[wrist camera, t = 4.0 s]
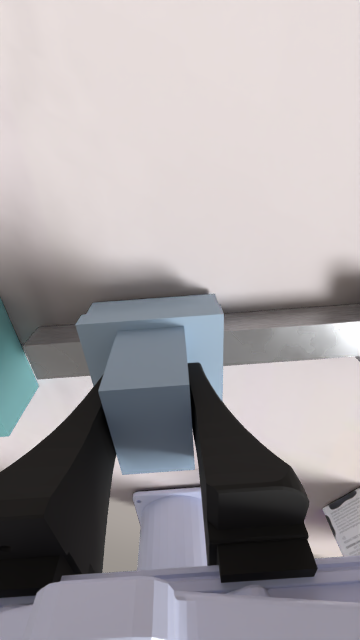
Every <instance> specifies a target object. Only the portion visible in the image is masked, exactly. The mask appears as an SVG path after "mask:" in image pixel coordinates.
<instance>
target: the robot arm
mask: <svg viewBox="0 0 360 640" xmlns="http://www.w3.org/2000/svg"><path fill="white" fill-rule="evenodd" d="M188 374H189V386H190V401H191V417H192V429H193V435H194V440H195V446H196V451H197V457H198V465H199V475H200V486H201V487H197V488H183V489H169V490H155V491H141V492H135V493H134V494H133V501H134V505H135V508H136V512H137V516H138V519H139V523H140V526H141V530H140V543H139V555H138V567H137V571H124V572H109V573H102V569H103V556H104V545H105V535H106V525H107V515H108V506H109V498H110V489H111V482H112V474H113V468H114V463H115V458H116V451H115V447H114V444H113V440H112V437H111V434H110V430H109V427H108V423H107V420H106V416H105V413H104V410H103V406H102V403H101V399H100V396H99V392H98V390H99V387H100V384H101V381H102V378H103V375H104V374H103V375H102V376H101V378H100V379H99V380H98V382H97V383H96V384H95V386H94V387H93V388H92V390H91V391H90V392H89V393H88V394H87V396H86V397H85V398H84V399H83V401H82V402H81V403H80V404H79V405H78V406H77V407H76V409H75V410H74V411H73V412H72V413H71V414H70V415H69V416H68V417H67V418H66V419H65V420H64V421H63V422H62V423H61V424H60V425H59V426H58V427H57V428H56V429H55V430H54V431H53V432H52V433H51V434H50V435H48V436H47V437H46V438H45V439H44V440H42V441H41V442H40V443H39V444H38V445H37V446H35V447H34V448H33V449H32V450H30V451H29V452H28V453H26V454H25V455H24V456H22V457H21V458H20V459H18V460H17V461H16V462H14V463H13V464H11V465H10V466H9V467H7V468H6V469H4V470H3V471H1V472H0V640H360V555H359V556H344V557H330V558H315V559H314V557H313V554H312V551H311V548H310V546H309V543H308V540H307V539H308V532H307V530H306V527H305V524H304V519H305V516H306V513H307V510H308V507H309V500H308V498H307V494H306V492H305V490H304V488H303V486H302V484H301V482H300V481H299V479H298V477H297V475H296V474H295V472H294V471H293V469H292V468H291V466H289V465H288V464H287V463H285V462H284V461H283V460H281V459H280V458H279V457H277V456H276V455H275V454H273V453H272V452H271V451H270V450H269V449H267V448H266V447H265V446H264V445H263V444H261V443H260V442H259V441H258V440H257V439H256V438H255V437H254V436H253V435H252V434H251V433H250V432H249V431H247V430H246V429H245V428H244V427H243V425H242V424H241V423H240V422H239V421H238V420H237V419H236V418H235V417H234V416H233V414H232V413H231V412H230V411H229V410H228V408H227V407H226V406H225V405H224V403H223V402H222V400H221V399H220V398H219V396H218V395H217V393H216V392H215V390H214V389H213V387H212V386H211V384H210V382H209V380H208V379H207V377H206V375H205V373H204V371H203V368H202V366H201V364H200V363H199V362H196V363H188Z"/></svg>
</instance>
